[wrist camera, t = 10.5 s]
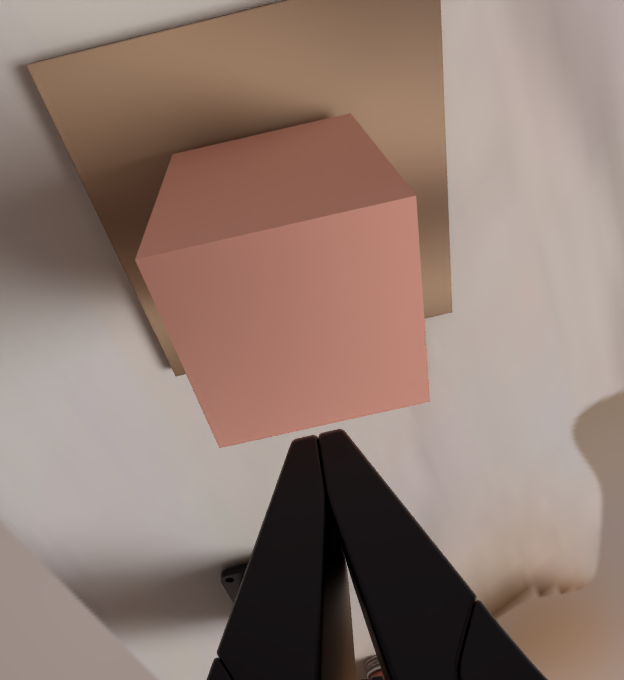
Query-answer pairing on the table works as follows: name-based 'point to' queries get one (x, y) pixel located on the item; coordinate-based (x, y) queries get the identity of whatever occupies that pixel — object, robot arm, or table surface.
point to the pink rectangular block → (290, 279)
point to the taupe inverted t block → (256, 109)
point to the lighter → (373, 667)
